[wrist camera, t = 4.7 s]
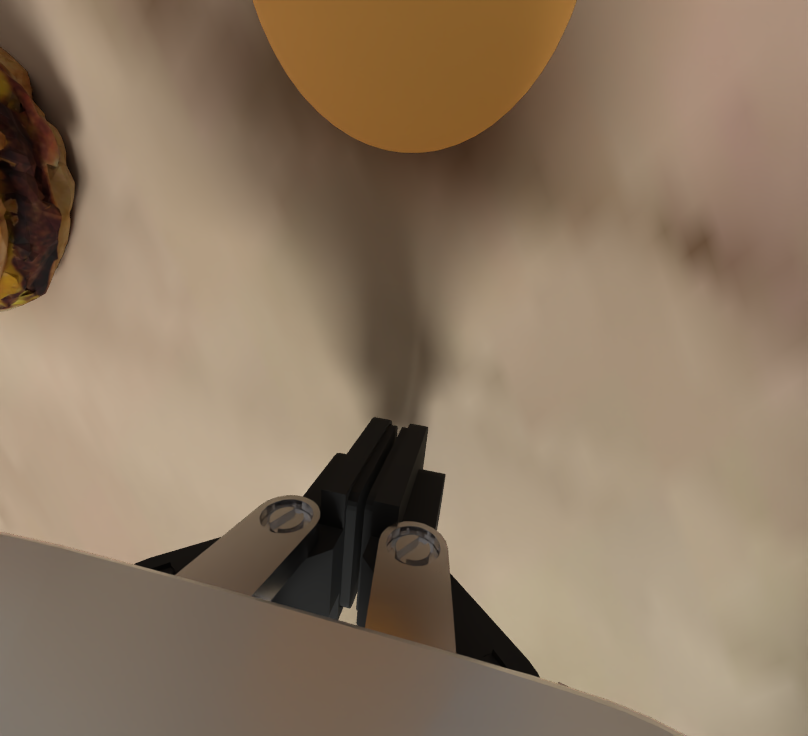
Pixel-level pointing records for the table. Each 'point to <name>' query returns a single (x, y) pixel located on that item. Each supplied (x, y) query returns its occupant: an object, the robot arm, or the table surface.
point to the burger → (29, 191)
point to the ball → (413, 62)
